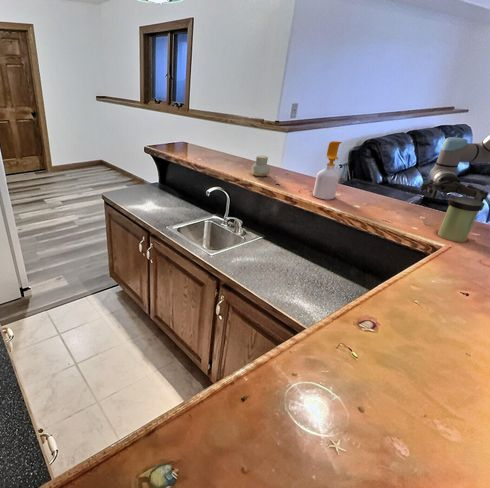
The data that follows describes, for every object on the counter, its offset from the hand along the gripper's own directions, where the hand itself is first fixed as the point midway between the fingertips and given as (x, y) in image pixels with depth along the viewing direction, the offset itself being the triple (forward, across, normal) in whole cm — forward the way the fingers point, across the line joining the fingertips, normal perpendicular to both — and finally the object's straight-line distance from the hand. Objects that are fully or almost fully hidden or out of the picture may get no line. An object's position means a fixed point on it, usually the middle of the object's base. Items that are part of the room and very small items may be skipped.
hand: (457, 197), depth 124 cm
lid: (+10, 0, +2) cm, 10 cm away
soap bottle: (-14, +43, -12) cm, 47 cm away
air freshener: (-35, +77, -12) cm, 86 cm away
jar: (+10, 0, -11) cm, 15 cm away
